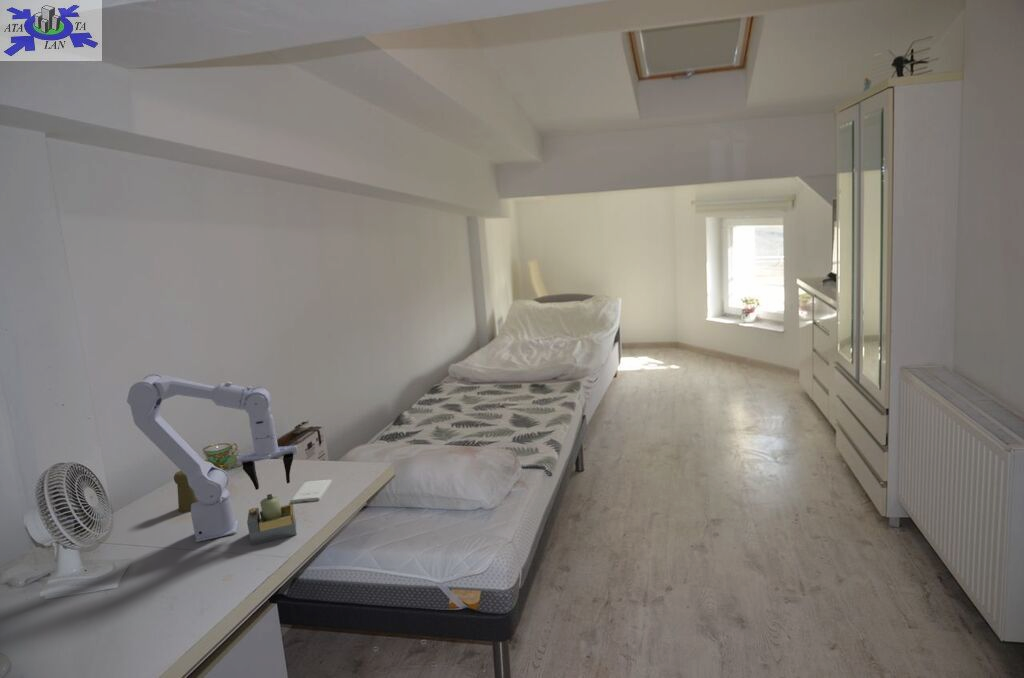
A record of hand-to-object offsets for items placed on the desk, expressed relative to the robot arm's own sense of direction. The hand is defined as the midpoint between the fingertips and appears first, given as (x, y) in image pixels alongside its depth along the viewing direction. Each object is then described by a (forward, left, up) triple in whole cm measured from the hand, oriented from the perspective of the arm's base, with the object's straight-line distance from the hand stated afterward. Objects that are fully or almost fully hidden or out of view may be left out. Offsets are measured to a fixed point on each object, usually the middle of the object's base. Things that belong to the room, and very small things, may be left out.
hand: (272, 485), depth 169 cm
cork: (-24, +24, -10) cm, 35 cm away
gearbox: (-1, -7, -10) cm, 12 cm away
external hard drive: (+9, +15, -11) cm, 20 cm away
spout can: (-1, -7, -7) cm, 10 cm away
